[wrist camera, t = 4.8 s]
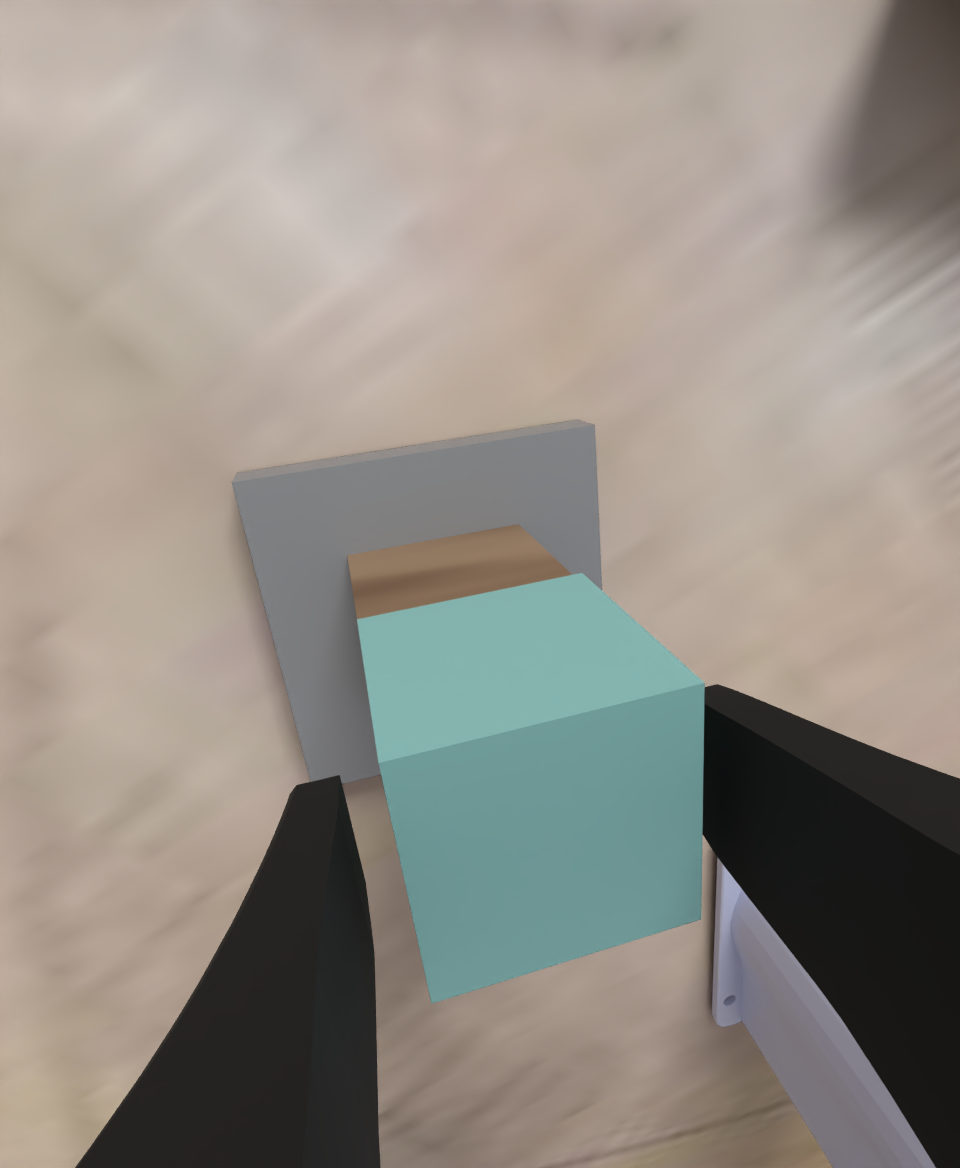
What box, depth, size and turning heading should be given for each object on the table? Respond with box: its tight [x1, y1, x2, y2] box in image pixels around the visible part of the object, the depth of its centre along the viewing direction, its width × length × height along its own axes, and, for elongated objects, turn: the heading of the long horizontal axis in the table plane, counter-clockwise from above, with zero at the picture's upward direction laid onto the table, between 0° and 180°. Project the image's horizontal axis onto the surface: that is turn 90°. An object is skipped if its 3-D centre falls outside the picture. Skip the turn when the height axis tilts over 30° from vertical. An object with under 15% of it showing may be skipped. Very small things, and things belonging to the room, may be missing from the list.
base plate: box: [232, 420, 602, 784], centre depth 16 cm, size 8×8×1 cm
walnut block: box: [347, 524, 572, 619], centre depth 14 cm, size 4×4×4 cm
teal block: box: [357, 573, 705, 1003], centre depth 10 cm, size 4×4×4 cm
